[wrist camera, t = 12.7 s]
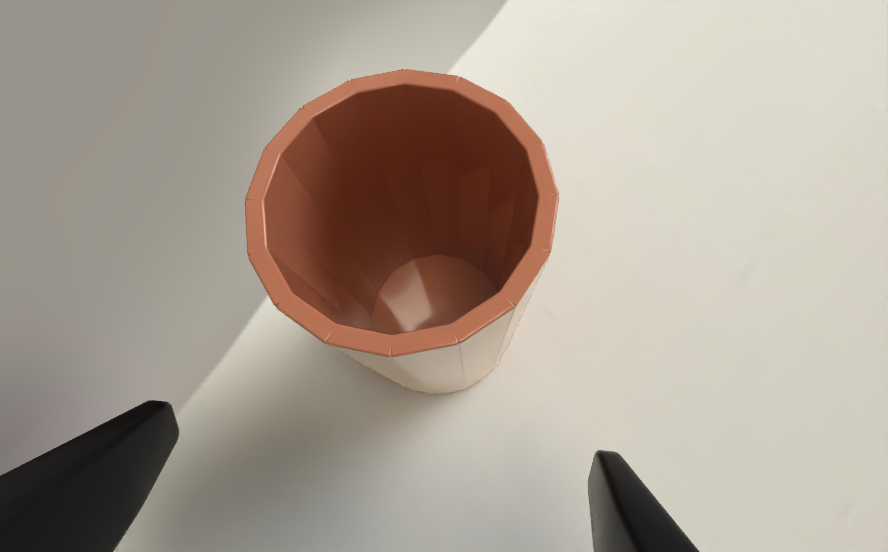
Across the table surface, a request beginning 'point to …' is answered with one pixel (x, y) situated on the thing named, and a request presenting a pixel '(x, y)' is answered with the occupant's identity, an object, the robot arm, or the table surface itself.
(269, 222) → the pencil cup
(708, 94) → the table surface
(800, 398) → the table surface
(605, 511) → the robot arm
